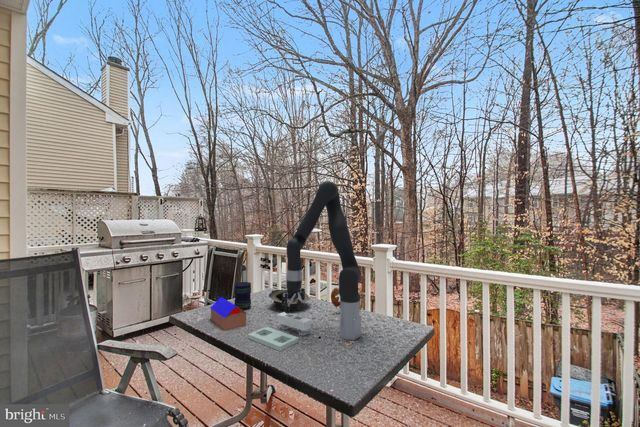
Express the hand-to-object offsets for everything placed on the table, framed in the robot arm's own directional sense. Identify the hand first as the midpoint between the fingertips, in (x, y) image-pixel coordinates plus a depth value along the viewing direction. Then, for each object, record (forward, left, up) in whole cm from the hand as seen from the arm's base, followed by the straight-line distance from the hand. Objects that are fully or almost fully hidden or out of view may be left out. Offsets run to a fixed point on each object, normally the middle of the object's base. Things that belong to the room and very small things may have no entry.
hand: (293, 311), depth 156 cm
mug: (-5, -37, -10) cm, 39 cm away
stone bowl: (+28, -27, -10) cm, 40 cm away
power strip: (0, 0, -10) cm, 10 cm away
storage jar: (+48, -7, -10) cm, 49 cm away
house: (+35, +13, -10) cm, 38 cm away
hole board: (0, +14, -10) cm, 17 cm away
